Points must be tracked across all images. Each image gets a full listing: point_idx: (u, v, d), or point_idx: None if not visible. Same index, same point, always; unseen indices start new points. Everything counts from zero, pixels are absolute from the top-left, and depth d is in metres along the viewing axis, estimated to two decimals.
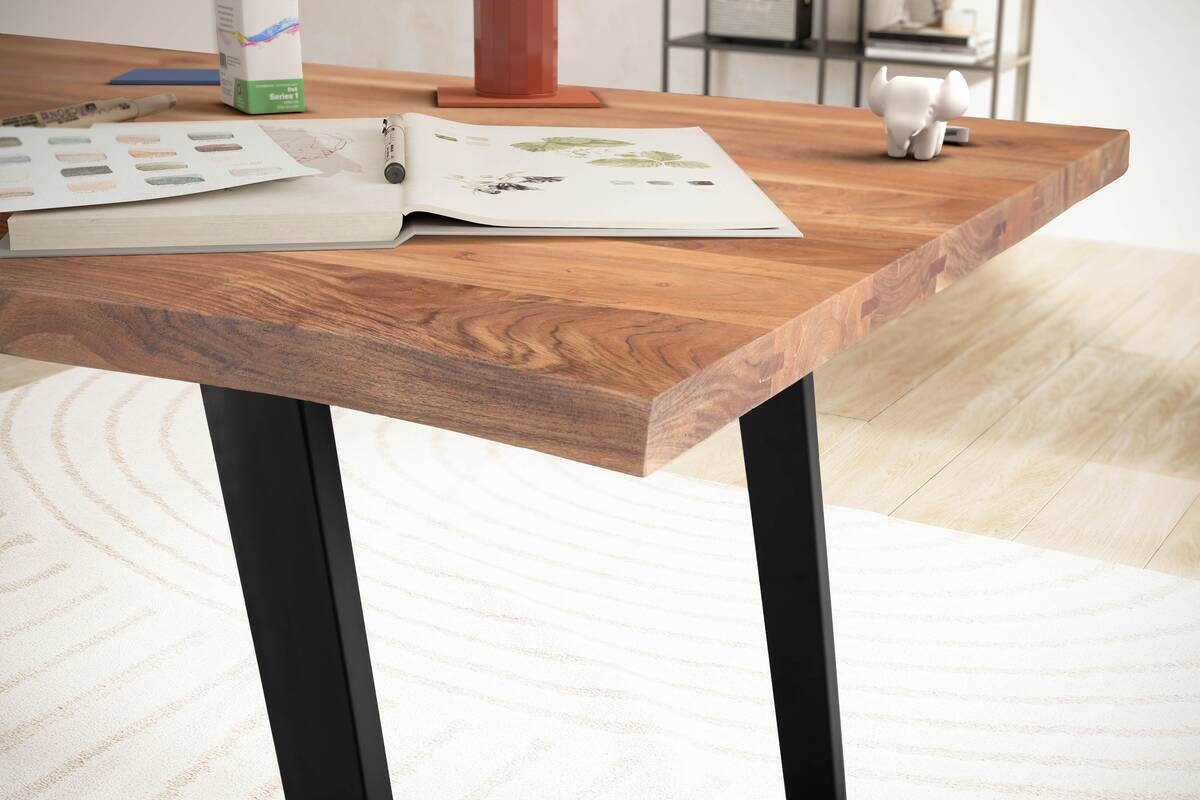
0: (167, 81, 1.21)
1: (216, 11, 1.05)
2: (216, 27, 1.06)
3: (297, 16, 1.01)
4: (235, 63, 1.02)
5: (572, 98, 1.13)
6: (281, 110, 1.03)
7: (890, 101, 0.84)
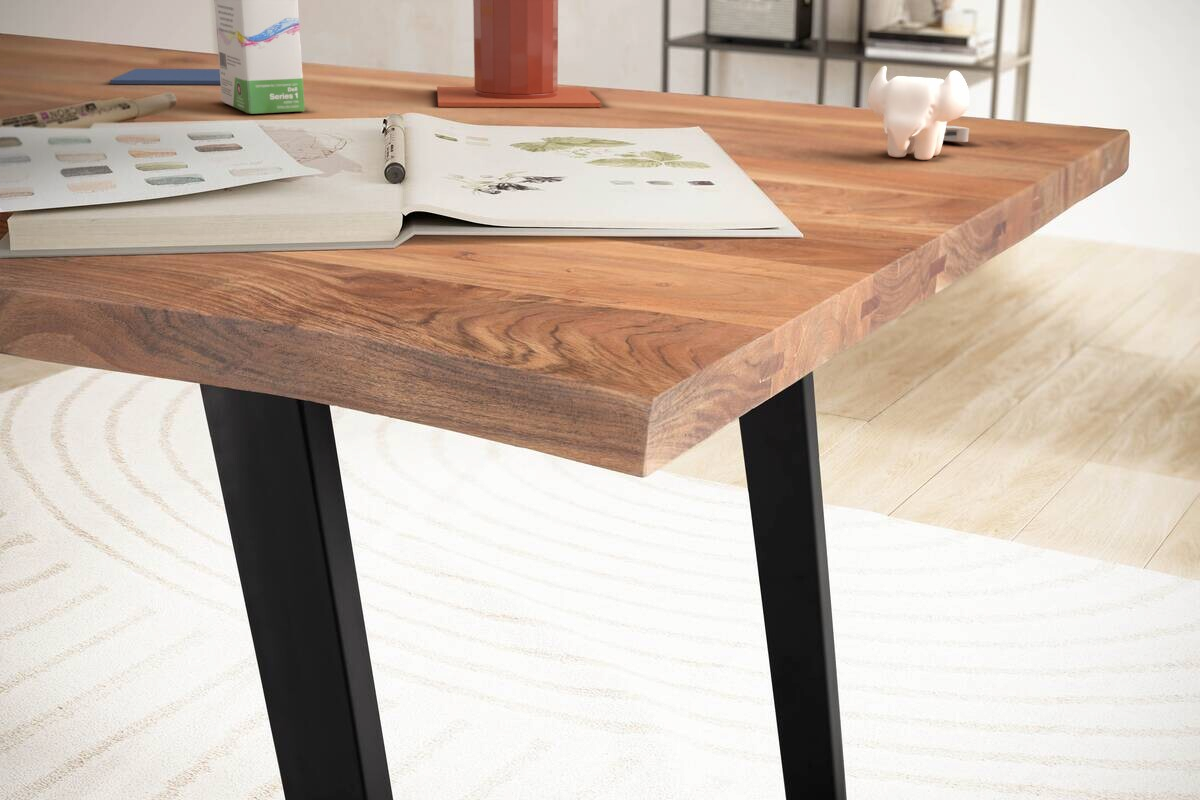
0: (167, 81, 1.21)
1: (216, 11, 1.05)
2: (216, 26, 1.06)
3: (297, 16, 1.01)
4: (235, 63, 1.02)
5: (572, 98, 1.13)
6: (281, 110, 1.03)
7: (890, 101, 0.84)
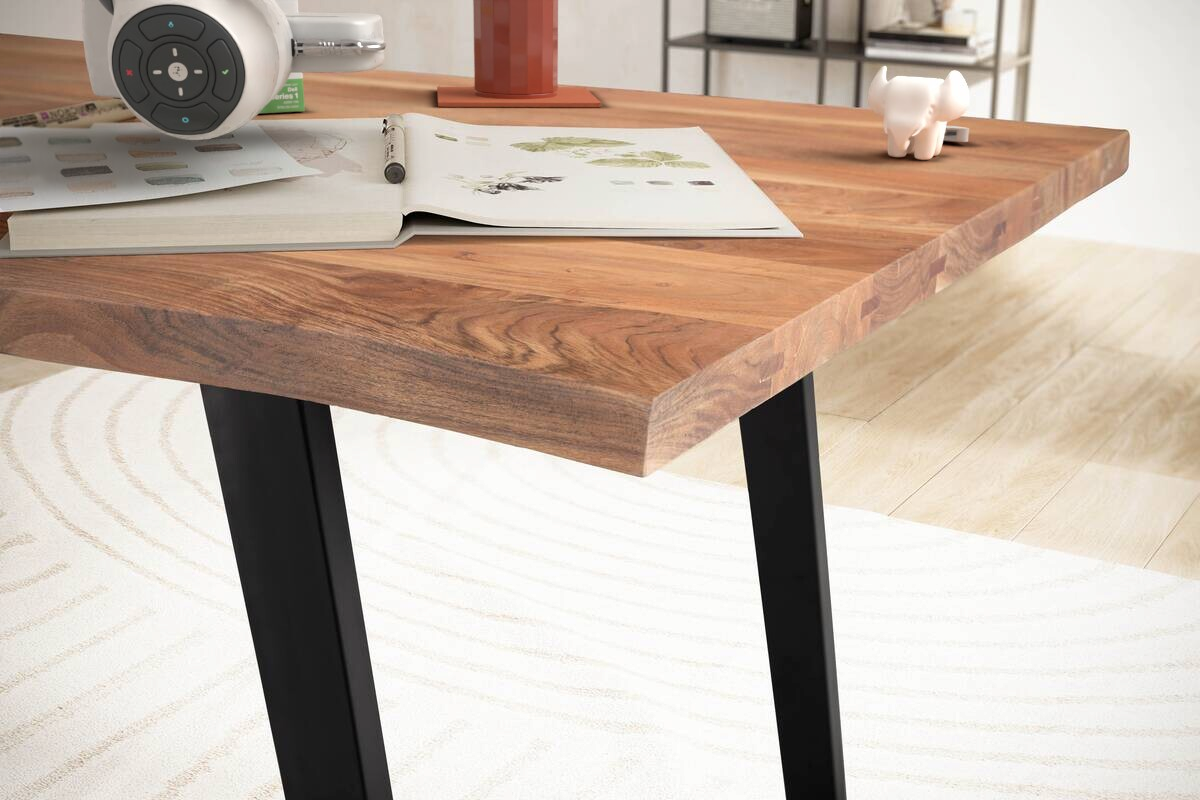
0: None
1: None
2: None
3: None
4: None
5: (572, 98, 1.13)
6: (281, 110, 1.03)
7: (890, 101, 0.84)
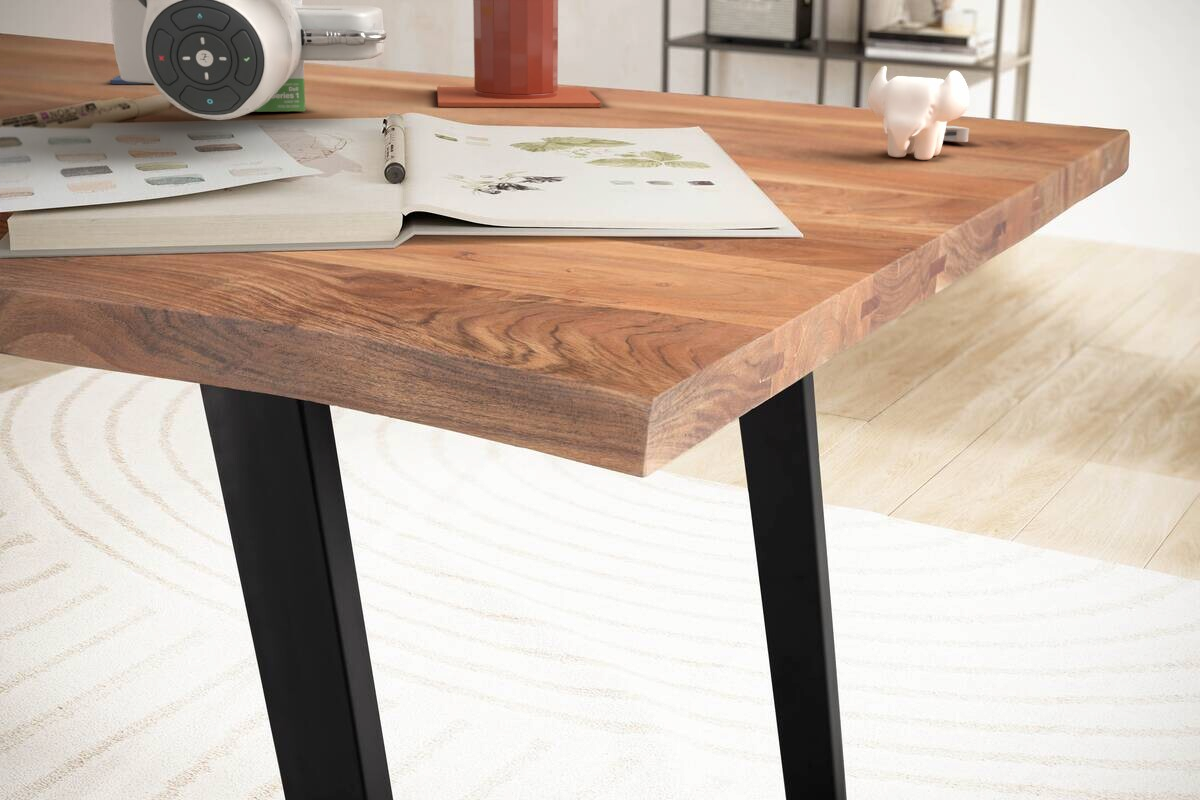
0: None
1: None
2: None
3: None
4: None
5: (572, 98, 1.13)
6: (281, 109, 1.03)
7: (890, 101, 0.84)
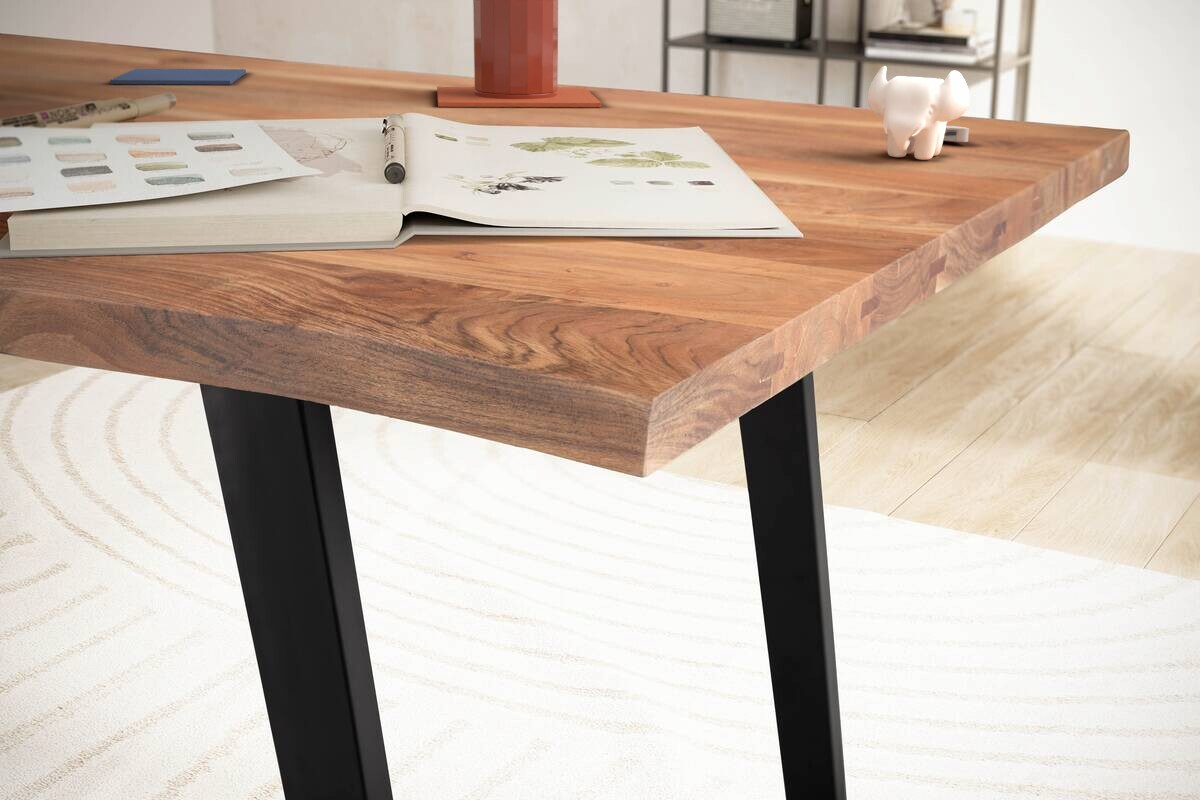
0: (167, 81, 1.21)
1: None
2: None
3: None
4: None
5: (572, 98, 1.13)
6: None
7: (890, 101, 0.84)
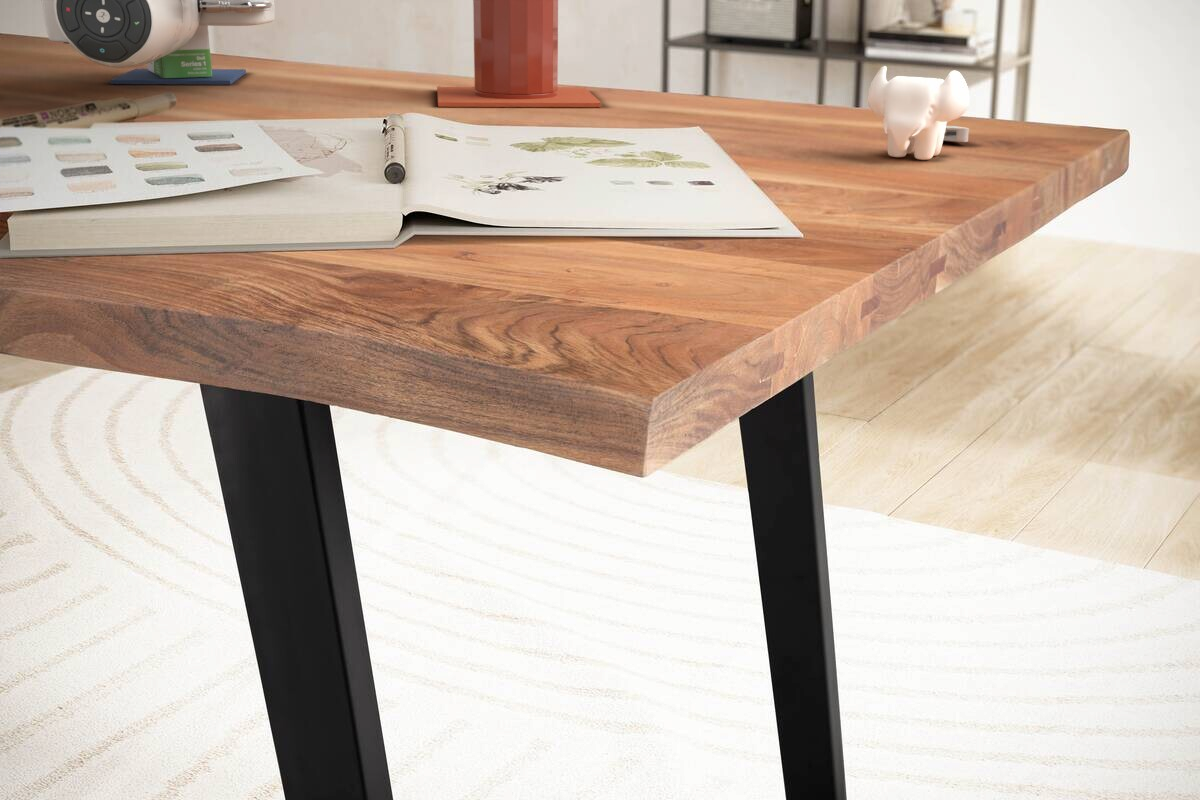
0: (167, 81, 1.21)
1: None
2: None
3: None
4: None
5: (572, 98, 1.13)
6: (191, 75, 1.22)
7: (890, 101, 0.84)
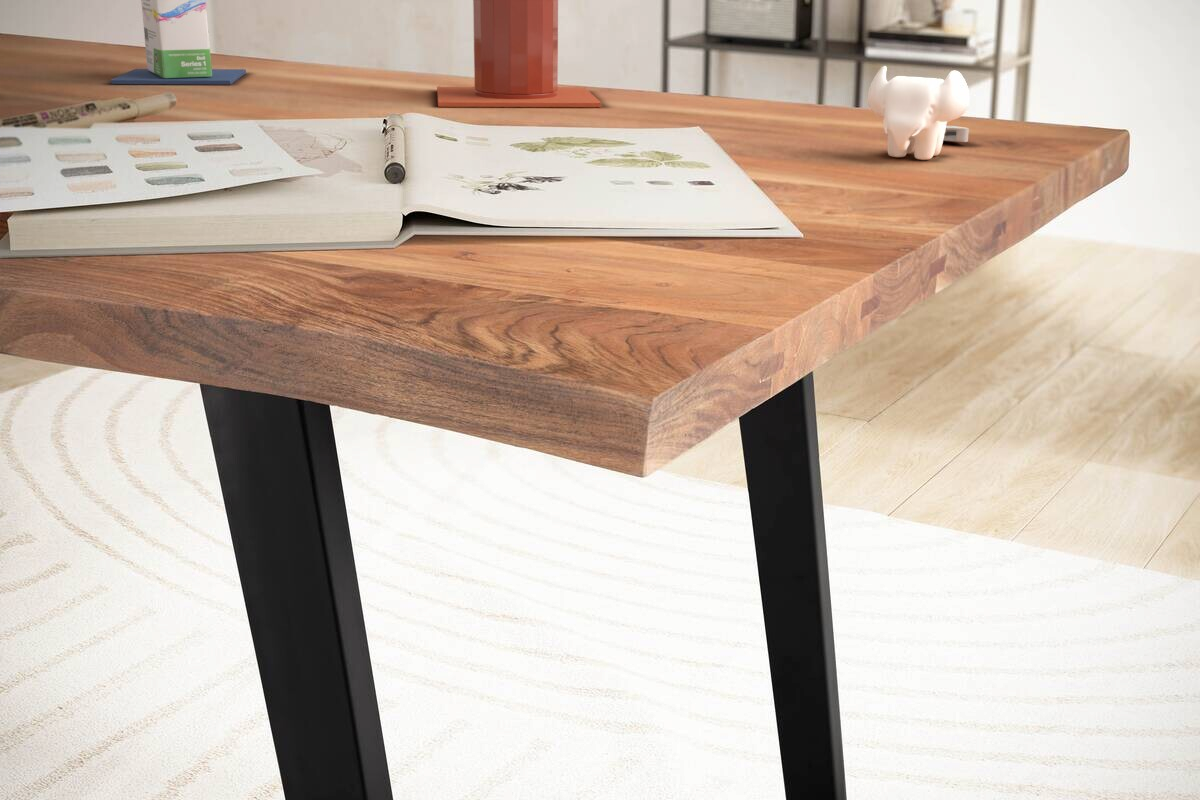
0: (167, 81, 1.21)
1: None
2: None
3: None
4: (153, 36, 1.22)
5: (572, 98, 1.13)
6: (191, 75, 1.22)
7: (890, 101, 0.84)
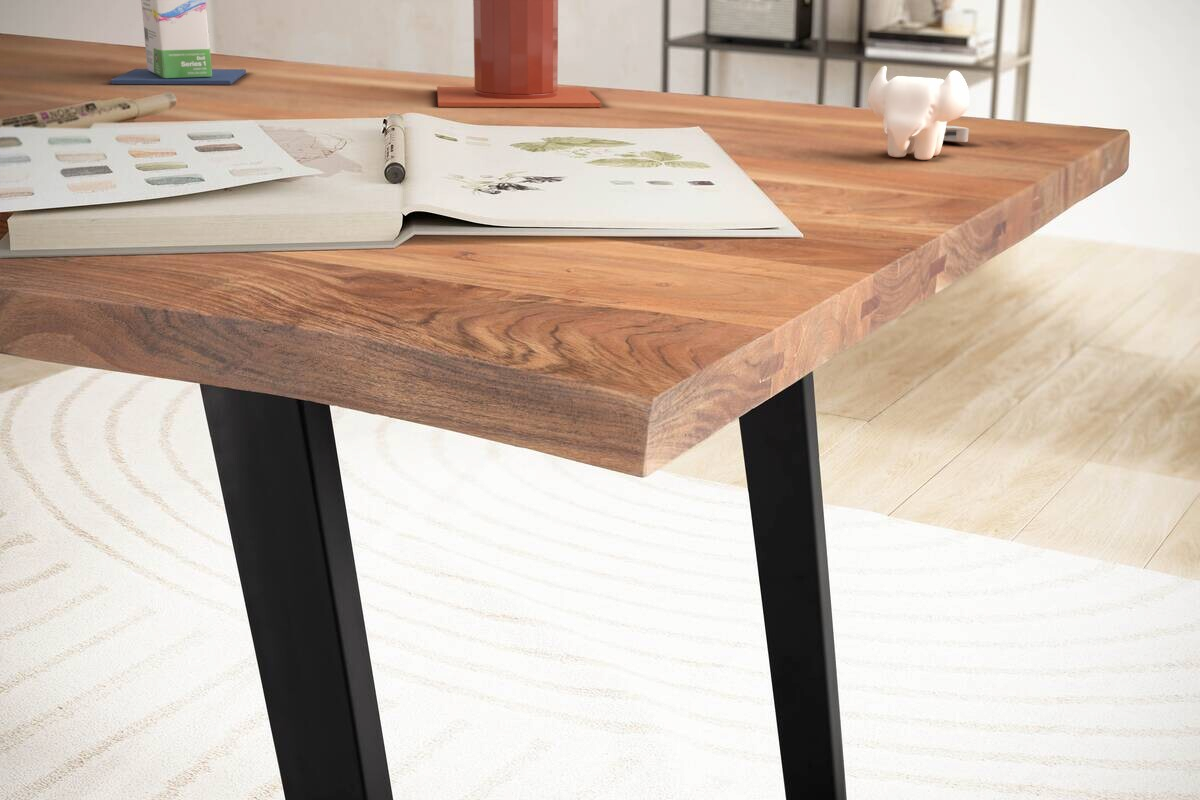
0: (167, 81, 1.21)
1: None
2: None
3: None
4: (153, 36, 1.22)
5: (572, 98, 1.13)
6: (191, 75, 1.22)
7: (890, 101, 0.84)
